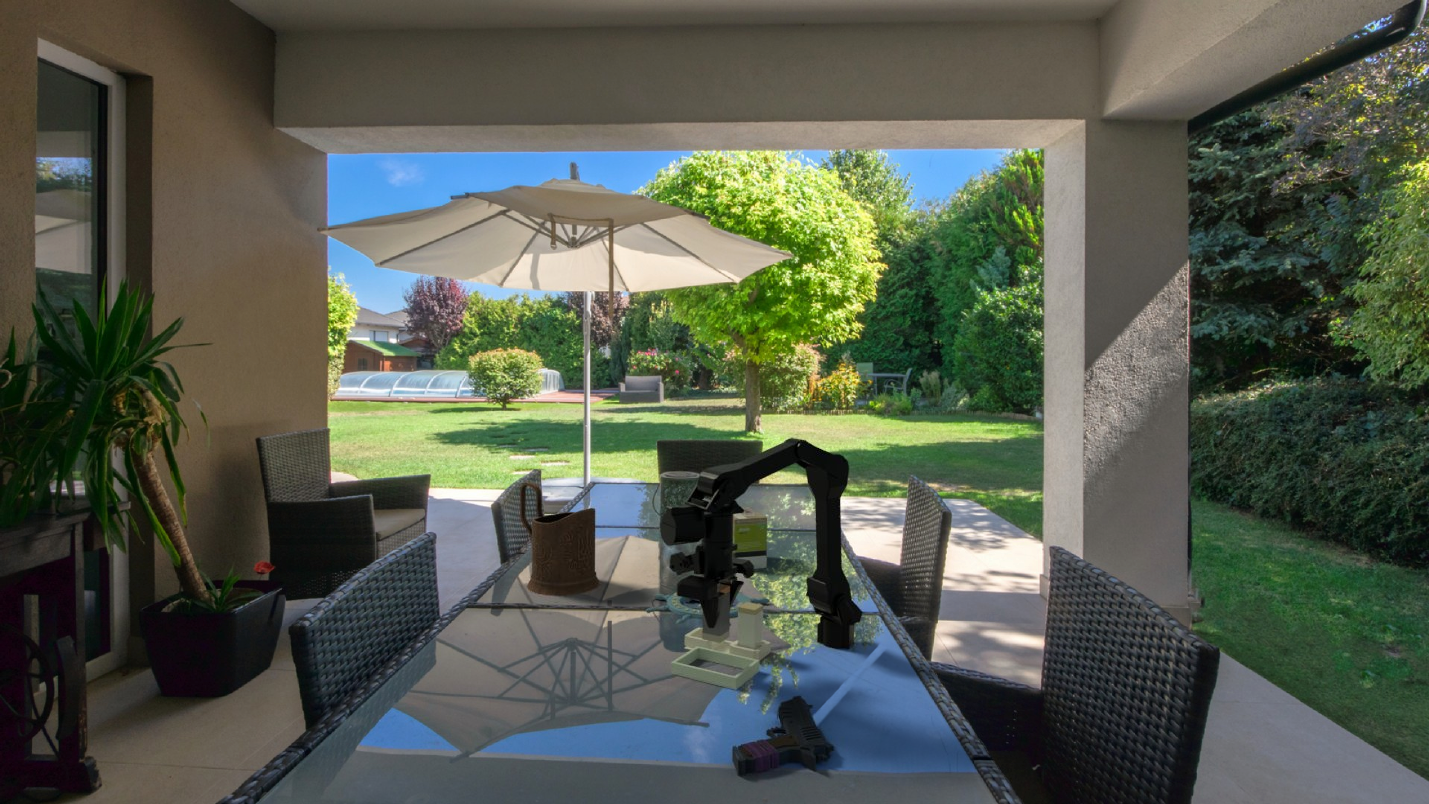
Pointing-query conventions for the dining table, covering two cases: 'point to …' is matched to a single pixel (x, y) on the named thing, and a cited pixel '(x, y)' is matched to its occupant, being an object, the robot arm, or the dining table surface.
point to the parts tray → (712, 677)
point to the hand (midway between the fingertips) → (716, 624)
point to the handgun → (785, 742)
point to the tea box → (750, 537)
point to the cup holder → (560, 549)
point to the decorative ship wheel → (687, 613)
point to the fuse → (750, 625)
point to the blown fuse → (719, 620)
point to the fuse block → (725, 646)
